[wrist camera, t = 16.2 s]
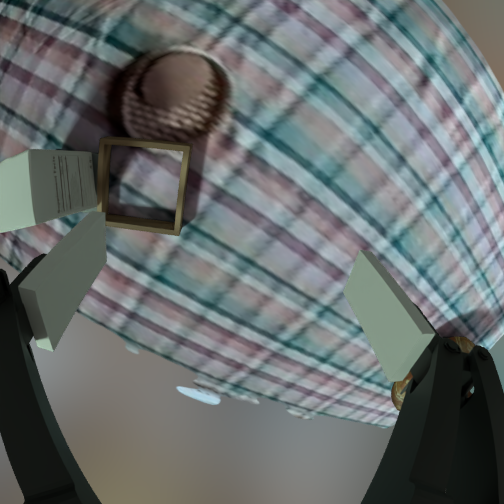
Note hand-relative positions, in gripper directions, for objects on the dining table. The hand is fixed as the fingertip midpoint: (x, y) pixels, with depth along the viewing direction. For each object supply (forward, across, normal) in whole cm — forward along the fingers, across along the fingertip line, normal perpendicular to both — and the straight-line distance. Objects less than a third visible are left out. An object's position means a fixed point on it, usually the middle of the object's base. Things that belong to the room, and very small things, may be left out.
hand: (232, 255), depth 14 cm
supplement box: (+29, -24, -7) cm, 38 cm away
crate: (+31, -12, -6) cm, 34 cm away
